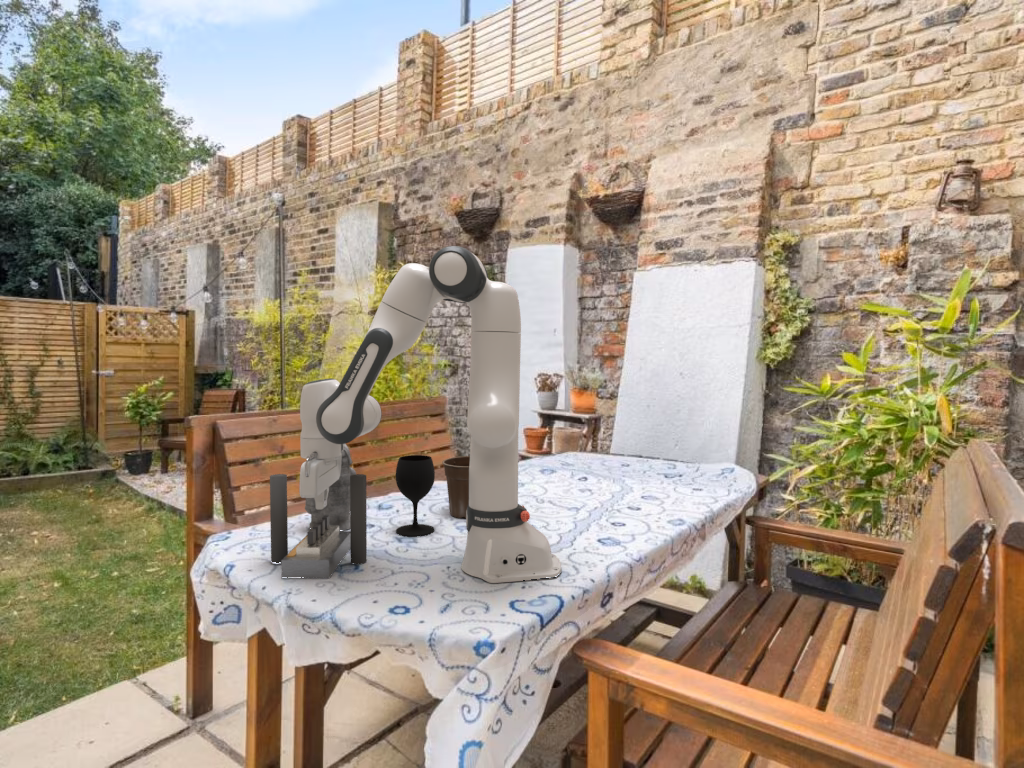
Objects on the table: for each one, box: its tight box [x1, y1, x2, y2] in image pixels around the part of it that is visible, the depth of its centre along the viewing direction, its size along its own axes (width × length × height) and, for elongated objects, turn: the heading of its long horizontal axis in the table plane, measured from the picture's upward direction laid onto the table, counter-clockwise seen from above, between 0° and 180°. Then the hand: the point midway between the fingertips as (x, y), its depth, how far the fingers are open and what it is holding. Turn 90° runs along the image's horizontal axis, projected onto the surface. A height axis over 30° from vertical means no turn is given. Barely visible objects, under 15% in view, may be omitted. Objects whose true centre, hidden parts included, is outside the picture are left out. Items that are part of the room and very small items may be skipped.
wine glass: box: [395, 454, 436, 538], centre depth 157 cm, size 10×10×20 cm
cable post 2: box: [349, 473, 368, 565], centre depth 134 cm, size 4×4×20 cm
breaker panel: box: [280, 526, 350, 579], centre depth 134 cm, size 10×20×6 cm, turn 2°
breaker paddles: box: [306, 515, 329, 544], centre depth 133 cm, size 1×13×3 cm, turn 2°
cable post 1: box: [269, 473, 289, 563], centre depth 133 cm, size 4×4×20 cm
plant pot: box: [441, 455, 470, 519], centre depth 174 cm, size 16×16×16 cm
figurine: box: [304, 443, 357, 531], centre depth 159 cm, size 10×14×25 cm
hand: (321, 507), depth 135 cm, fingers closed
